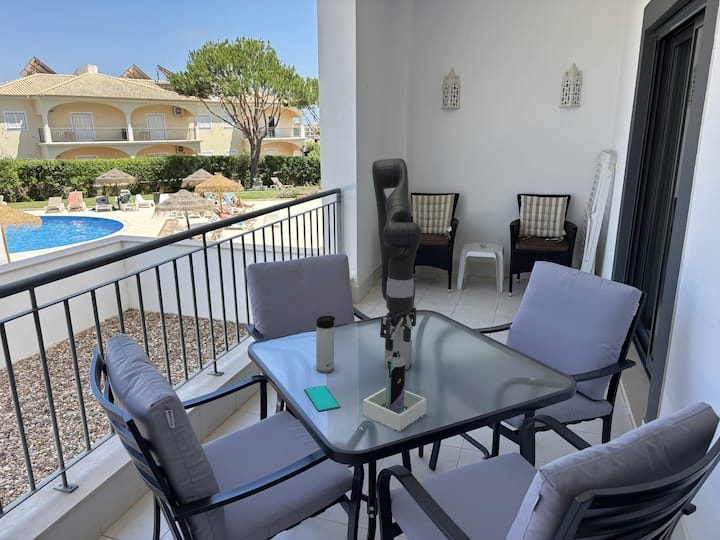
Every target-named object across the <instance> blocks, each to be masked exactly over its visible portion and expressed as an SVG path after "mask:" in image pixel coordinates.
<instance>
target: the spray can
mask: <svg viewBox="0 0 720 540" xmlns="http://www.w3.org/2000/svg"><path fill="white" fill-rule="evenodd" d="M405 363H406V362H405V358H404V357H401V355H400V354H399V351H395V352H393V354H392V356H390V357H388V358H387V368H386V374H385V375H386V377H385V378H386V380H385V382H386V383H385V384H386V385H385V388H386V404H385V407H386V409H388V410H391V411H393V412H395V413H398V414H401V413H402V412H404V409H405V406H404V390H405V386H406V385H405V383H406V370H405Z"/></svg>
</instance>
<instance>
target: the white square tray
mask: <svg viewBox="0 0 720 540" xmlns="http://www.w3.org/2000/svg"><path fill="white" fill-rule="evenodd" d="M385 403H386V387H384V388H382V389H381V390H378V391H376V392H375V393H373V394H371V395H370V396H368V397H366V398H364V399H363V400H362V416H363V415H364V417H365V418H368V419H370V418H371V419H370V420H372V419H373V420H372V421H374V420H375V422H376V421H378V422H380V423H379V424H381V423H383V424H385V425H387V426H390V427H393V428H395V429H397V430H401V429H402V428H404V427H405V426H407V425H408V424H410V423H411V422H413V421H414V420H416V419H417V418H419V417H420V416H422V415H423V414H424V413H425V412H426V413H427V403H428V399H427V398H426V397H424V396H421V395H418V394H415V393H414V392H411V391H408V390H404V405H405V406H407V407H410V408H407V407H406V408H407V410H406V408H404V410H405V411H404V412H402V413H401V414H398V413H395V412H393V411H391V410H388V409H386V406H385V407H384V405H386V404H385ZM383 404H384V405H383ZM382 405H383V406H382ZM405 406H404V407H405ZM422 417H423V416H422ZM419 419H420V418H419ZM416 421H417V420H416ZM378 422H377V423H378ZM413 423H414V422H413ZM383 424H382V425H383ZM385 425H384V426H385ZM387 426H386V427H387Z"/></svg>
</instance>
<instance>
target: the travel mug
mask: <svg viewBox="0 0 720 540" xmlns="http://www.w3.org/2000/svg"><path fill="white" fill-rule="evenodd" d="M335 320H336V316H333V315H322V316H319V317H318V318H316V329H315V331H316V334H315V336H316V343H315V344H316V346H315V347H316V348H315V349H316V356H315V357H316V359H315V360H316V365H315V366H316V371H317V372H319V373H321V374H328V373H331V372H333V371H334V370H335Z"/></svg>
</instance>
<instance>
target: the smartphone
mask: <svg viewBox="0 0 720 540" xmlns="http://www.w3.org/2000/svg"><path fill="white" fill-rule="evenodd" d="M303 390H304V393H305V394H306V396H307V397H308V400H310V402H311V403H312V405H313V407H314V409H316V412H318V413H322V412H326V411H327V412H328V411H331V410H333V411H334V410H338V409H341V405H340V404H339V402H338V401H337V400H336V398H335V397H334V396H333V394H332V393H331V392H330V390H329V389H328V387H327V386H326V385H320V386H314V387H307V388H304V389H303Z"/></svg>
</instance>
